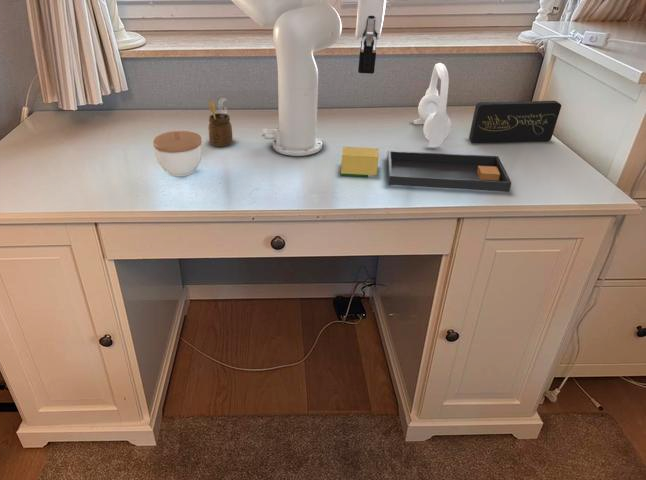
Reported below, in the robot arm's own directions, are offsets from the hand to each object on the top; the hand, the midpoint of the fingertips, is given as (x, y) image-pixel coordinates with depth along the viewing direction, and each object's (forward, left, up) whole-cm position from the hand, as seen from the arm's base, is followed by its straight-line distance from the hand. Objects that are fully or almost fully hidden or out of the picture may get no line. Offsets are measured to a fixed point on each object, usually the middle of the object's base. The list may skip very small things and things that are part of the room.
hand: (366, 66), depth 108 cm
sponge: (0, -3, -23) cm, 23 cm away
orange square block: (+29, -3, -22) cm, 36 cm away
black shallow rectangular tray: (+19, -3, -23) cm, 30 cm away
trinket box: (-41, -8, -23) cm, 47 cm away
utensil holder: (-36, +10, -23) cm, 43 cm away
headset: (+18, +22, -23) cm, 37 cm away
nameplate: (+38, +21, -23) cm, 49 cm away
